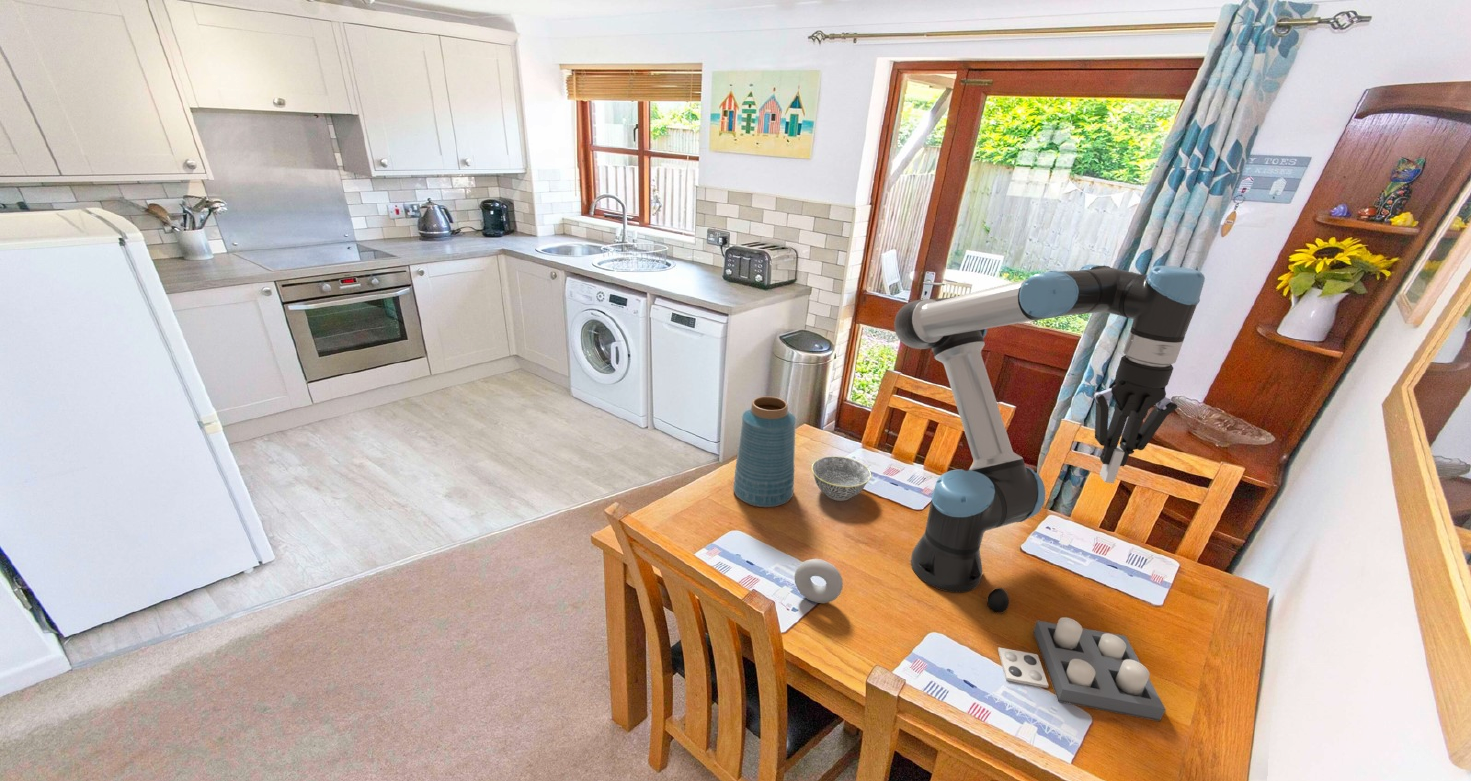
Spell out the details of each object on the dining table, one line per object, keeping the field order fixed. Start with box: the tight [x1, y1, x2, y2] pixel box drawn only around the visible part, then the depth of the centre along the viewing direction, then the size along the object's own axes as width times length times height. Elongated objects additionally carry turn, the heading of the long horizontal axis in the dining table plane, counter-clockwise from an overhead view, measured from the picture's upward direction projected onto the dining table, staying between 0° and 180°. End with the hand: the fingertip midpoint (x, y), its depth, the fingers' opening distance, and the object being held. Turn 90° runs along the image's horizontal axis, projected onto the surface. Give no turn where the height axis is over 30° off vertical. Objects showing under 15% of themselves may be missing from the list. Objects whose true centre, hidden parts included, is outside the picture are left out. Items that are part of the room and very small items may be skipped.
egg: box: [986, 587, 1010, 614], centre depth 118 cm, size 4×4×5 cm
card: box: [997, 647, 1049, 689], centre depth 105 cm, size 7×7×1 cm
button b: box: [1115, 659, 1151, 696], centre depth 99 cm, size 4×4×4 cm
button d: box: [1098, 632, 1126, 659], centre depth 107 cm, size 4×4×4 cm
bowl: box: [811, 455, 872, 502], centre depth 155 cm, size 16×16×8 cm
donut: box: [794, 558, 844, 604], centre depth 117 cm, size 10×4×10 cm, turn 71°
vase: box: [732, 395, 797, 508], centre depth 150 cm, size 16×16×27 cm
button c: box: [1053, 616, 1084, 650], centre depth 108 cm, size 4×4×4 cm
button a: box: [1066, 659, 1095, 687], centre depth 101 cm, size 4×4×4 cm
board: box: [1032, 620, 1166, 722], centre depth 105 cm, size 16×16×3 cm
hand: (1106, 478), depth 106 cm, fingers closed
